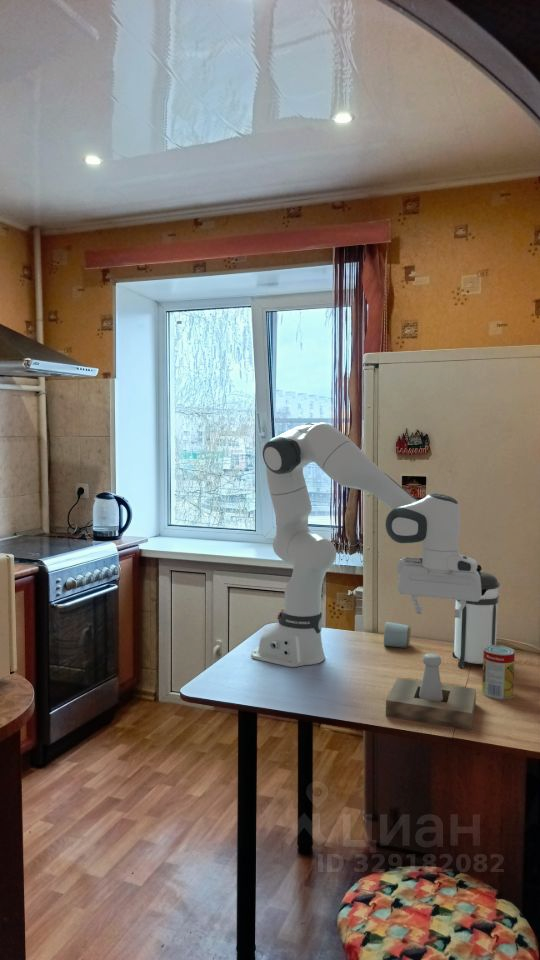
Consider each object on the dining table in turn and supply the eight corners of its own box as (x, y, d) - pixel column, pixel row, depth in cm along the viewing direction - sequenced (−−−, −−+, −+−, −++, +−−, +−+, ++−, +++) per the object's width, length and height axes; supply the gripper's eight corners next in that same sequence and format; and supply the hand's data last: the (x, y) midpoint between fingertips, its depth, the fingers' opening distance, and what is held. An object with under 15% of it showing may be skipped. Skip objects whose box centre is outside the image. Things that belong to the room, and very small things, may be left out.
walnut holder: (385, 716, 162) (386, 700, 162) (397, 692, 177) (397, 677, 177) (471, 729, 155) (471, 713, 155) (475, 704, 170) (476, 688, 170)
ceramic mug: (409, 651, 211) (409, 627, 211) (383, 648, 213) (383, 624, 213) (411, 641, 221) (411, 619, 221) (386, 639, 224) (386, 616, 223)
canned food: (514, 691, 179) (515, 647, 178) (511, 701, 172) (513, 656, 171) (483, 686, 182) (485, 643, 182) (480, 696, 175) (481, 651, 174)
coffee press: (513, 664, 200) (517, 565, 198) (478, 675, 191) (482, 571, 189) (466, 648, 214) (469, 556, 212) (432, 657, 205) (435, 561, 203)
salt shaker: (443, 711, 163) (445, 659, 162) (419, 710, 164) (421, 658, 163) (441, 702, 168) (442, 651, 168) (418, 700, 169) (419, 650, 168)
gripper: (396, 558, 165) (393, 613, 166) (482, 565, 158) (479, 623, 159) (399, 554, 171) (397, 607, 172) (483, 561, 164) (480, 616, 165)
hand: (437, 615), depth 165 cm, fingers open, 8 cm apart
